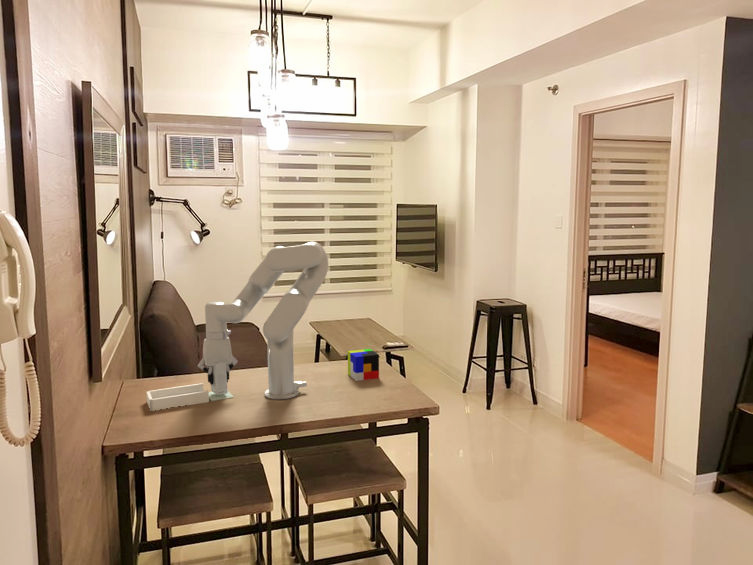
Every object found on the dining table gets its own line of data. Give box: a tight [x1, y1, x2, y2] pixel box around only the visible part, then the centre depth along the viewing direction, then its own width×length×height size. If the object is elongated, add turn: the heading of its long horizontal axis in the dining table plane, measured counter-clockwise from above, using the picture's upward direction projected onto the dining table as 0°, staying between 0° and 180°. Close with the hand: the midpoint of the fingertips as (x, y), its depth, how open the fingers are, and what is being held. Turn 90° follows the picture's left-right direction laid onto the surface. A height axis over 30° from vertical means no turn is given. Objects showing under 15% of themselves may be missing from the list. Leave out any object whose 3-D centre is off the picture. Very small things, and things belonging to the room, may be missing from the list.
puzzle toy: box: [347, 348, 380, 382], centre depth 244 cm, size 10×10×10 cm
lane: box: [145, 382, 210, 412], centre depth 215 cm, size 20×11×4 cm, turn 117°
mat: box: [208, 390, 234, 402], centre depth 222 cm, size 8×10×1 cm
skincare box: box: [210, 362, 229, 395], centre depth 221 cm, size 6×4×12 cm
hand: (218, 382), depth 221 cm, fingers closed on skincare box, 4 cm apart
